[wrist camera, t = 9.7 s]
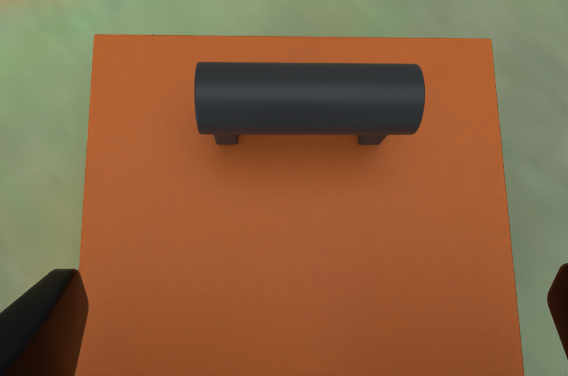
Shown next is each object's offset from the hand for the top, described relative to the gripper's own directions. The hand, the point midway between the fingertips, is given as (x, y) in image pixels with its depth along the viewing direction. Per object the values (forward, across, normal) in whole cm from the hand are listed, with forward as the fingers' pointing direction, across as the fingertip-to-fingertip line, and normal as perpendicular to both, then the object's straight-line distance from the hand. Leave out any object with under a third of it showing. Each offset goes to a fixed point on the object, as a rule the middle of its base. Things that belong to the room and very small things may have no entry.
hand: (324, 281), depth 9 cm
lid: (+6, 0, +3) cm, 6 cm away
